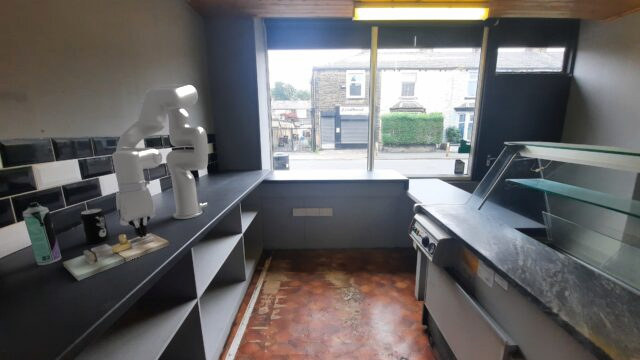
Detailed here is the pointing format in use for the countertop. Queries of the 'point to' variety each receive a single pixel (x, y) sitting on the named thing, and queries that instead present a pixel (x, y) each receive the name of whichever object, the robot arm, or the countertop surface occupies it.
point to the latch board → (112, 256)
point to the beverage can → (94, 226)
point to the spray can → (41, 234)
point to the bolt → (118, 245)
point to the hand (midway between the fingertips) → (142, 235)
